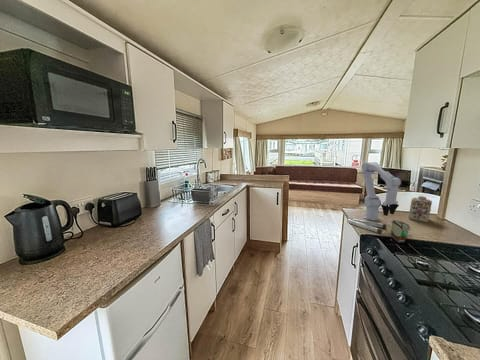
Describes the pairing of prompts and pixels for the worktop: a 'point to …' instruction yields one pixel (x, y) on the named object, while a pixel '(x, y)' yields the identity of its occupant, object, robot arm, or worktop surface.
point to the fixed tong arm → (364, 226)
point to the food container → (399, 230)
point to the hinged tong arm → (370, 223)
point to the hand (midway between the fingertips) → (388, 214)
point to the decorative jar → (420, 209)
